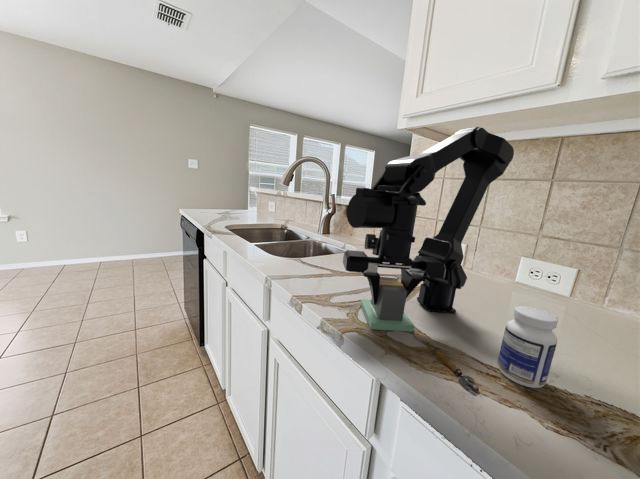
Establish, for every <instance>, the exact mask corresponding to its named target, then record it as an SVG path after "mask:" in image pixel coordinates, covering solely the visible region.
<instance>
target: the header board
mask: <svg viewBox="0 0 640 479" xmlns="http://www.w3.org/2000/svg"><path fill="white" fill-rule="evenodd" d="M360 308H361V309H362V312H363V313H364V314H363V315H364V316H365V319H366V321H367V323H368V326H369V329H370V330H379V331H380V330H381V331H391V332H392V331H394V332H410V333H411V332H412V333H414V331H415V325H414V323H413V322H412V320H411V319H410V318H409V317H408V316H407V314H406V312H404V313H403V319H402V321H396V320H383V319H379V318H378V316H377V314H376V312H375V310H374V308H373V306H372V304H371V300H370V299H360Z"/></svg>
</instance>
